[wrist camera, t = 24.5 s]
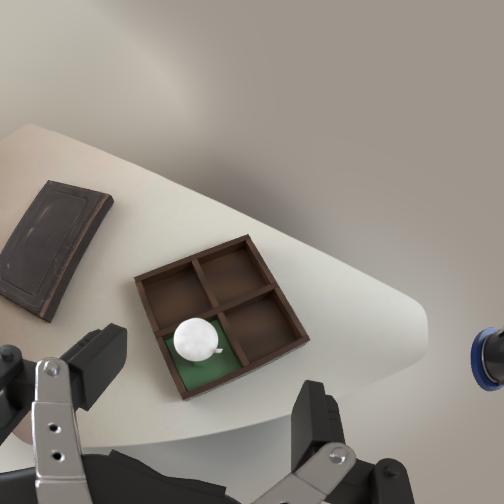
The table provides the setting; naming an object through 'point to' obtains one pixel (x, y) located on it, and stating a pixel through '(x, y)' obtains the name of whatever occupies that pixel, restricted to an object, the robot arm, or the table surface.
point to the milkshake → (196, 341)
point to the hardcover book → (50, 246)
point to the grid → (221, 313)
